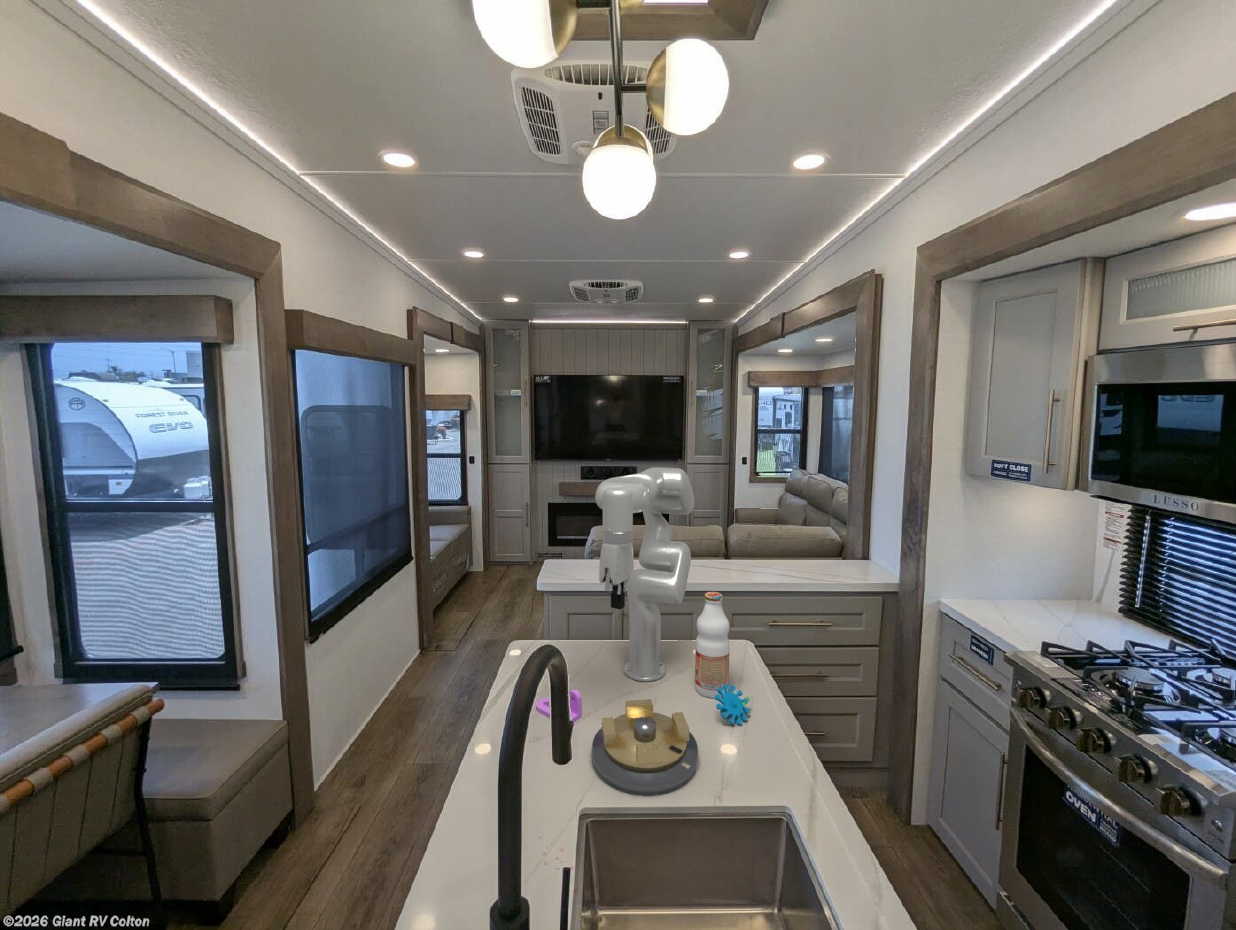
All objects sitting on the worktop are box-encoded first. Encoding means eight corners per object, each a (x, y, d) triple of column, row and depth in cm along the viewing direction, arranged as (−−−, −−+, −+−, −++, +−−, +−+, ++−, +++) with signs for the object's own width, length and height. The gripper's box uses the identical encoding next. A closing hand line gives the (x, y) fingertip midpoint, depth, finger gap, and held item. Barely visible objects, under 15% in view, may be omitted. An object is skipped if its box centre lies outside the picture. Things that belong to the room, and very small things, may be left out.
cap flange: (604, 720, 133) (604, 709, 133) (699, 731, 129) (699, 719, 129) (580, 787, 110) (580, 773, 109) (696, 802, 105) (696, 788, 105)
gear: (726, 726, 128) (712, 685, 134) (713, 733, 132) (700, 693, 138) (759, 719, 134) (744, 680, 139) (746, 726, 137) (731, 688, 143)
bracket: (581, 717, 135) (581, 692, 134) (566, 727, 131) (566, 701, 130) (547, 700, 143) (546, 675, 142) (531, 709, 139) (531, 684, 138)
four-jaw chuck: (585, 748, 117) (585, 727, 117) (635, 710, 132) (635, 691, 132) (657, 786, 106) (657, 762, 105) (702, 739, 120) (703, 719, 120)
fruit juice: (711, 702, 141) (713, 603, 138) (687, 687, 149) (689, 592, 146) (735, 692, 147) (738, 595, 144) (711, 678, 154) (713, 586, 151)
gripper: (619, 529, 139) (619, 595, 141) (588, 541, 126) (589, 614, 128) (644, 532, 135) (644, 601, 137) (615, 545, 122) (615, 620, 124)
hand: (617, 607), depth 132 cm, fingers closed
